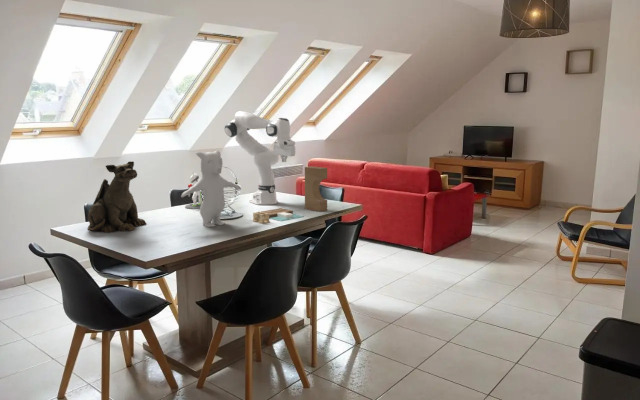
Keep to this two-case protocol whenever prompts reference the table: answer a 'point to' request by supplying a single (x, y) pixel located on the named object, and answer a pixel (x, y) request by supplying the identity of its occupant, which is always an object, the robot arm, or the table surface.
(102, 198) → the sculpture
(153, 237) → the table surface
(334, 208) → the table surface
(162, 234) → the table surface
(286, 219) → the mat
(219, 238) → the table surface
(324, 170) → the decorative block
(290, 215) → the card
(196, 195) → the figurine
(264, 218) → the oak rack
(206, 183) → the toy bear
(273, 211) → the deck
